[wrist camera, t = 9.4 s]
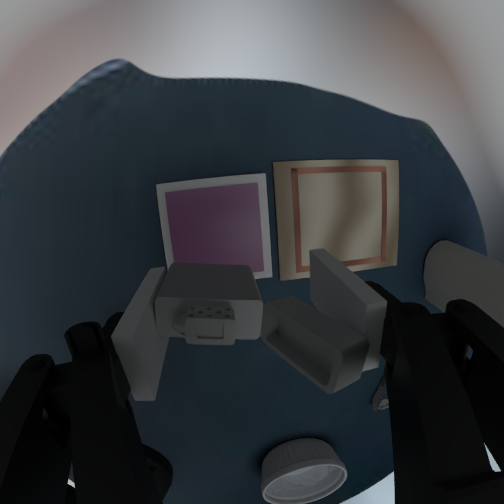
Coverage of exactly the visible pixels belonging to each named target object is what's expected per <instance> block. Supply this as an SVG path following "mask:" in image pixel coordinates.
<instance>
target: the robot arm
mask: <svg viewBox="0 0 504 504" xmlns="http://www.w3.org/2000/svg"><path fill="white" fill-rule="evenodd" d="M309 258H310V299H311V300H312V302H313V303H314V305H315V306H316V308H317V309H318V311H320V312H322V313H323V314H325V315H327V316H329V317H330V318H332V319H334V320H336V321H337V322H339V323H341V324H343V325H345V326H346V327H348V328H350V329H352V330H353V331H355V332H357V333H359V334H361V335H362V336H364V337H366V338H367V339H368V342H369V344H370V346H369V350H368V353H367V357H366V360H365V363H364V366H363V370H362V371H366V370H370V369H373V368H377V367H378V366H379V360H380V354H381V355H382V356H383V358H384V359H385V360H386V364H385V369H384V374H383V379H382V384H381V386H384V384H385V382H386V387H387V395H388V403H389V412H390V421H391V432H392V444H393V460H394V482H395V504H504V328H503V327H502V326H501V325H500V324H499V323H497V322H496V321H495V320H494V319H493V318H491V317H490V316H489V315H488V314H487V313H485V312H484V311H483V310H482V309H480V308H479V307H478V306H477V305H475V304H474V303H472V302H470V301H467V300H465V299H457V300H451V301H449V302H448V303H447V304H446V310H445V313H437V314H430V312H429V310H428V309H427V308H426V307H425V306H423V305H421V304H417V303H411V302H406V303H402V302H401V301H399V300H398V299H397V298H396V297H394V296H393V295H392V294H390V293H389V292H388V291H387V290H385V289H384V288H383V287H382V286H381V285H379V284H377V283H374V282H372V281H365V282H364V281H363V280H362V279H360V278H359V277H358V276H357V275H355V274H354V273H353V272H352V271H351V270H349V269H348V268H347V267H346V266H345V265H343V264H342V263H341V262H340V261H338V260H337V259H336V258H335V257H334V256H332V255H331V254H330V253H329V252H327V251H326V250H325V249H324V248H321V249H313V250H309ZM165 276H166V269H165V267H158V268H150V270H149V272H148V273H147V275H146V277H145V278H144V280H143V282H142V283H141V285H140V287H139V288H138V290H137V292H136V293H135V295H134V297H133V298H132V300H131V302H130V304H129V305H128V307H127V309H126V311H125V312H118V313H115V314H114V315H113V316H111V317H110V318H109V319H108V320H107V322H106V324H105V326H104V327H103V328H101V326H100V324H99V323H97V322H90V321H89V322H83V323H79V324H76V325H74V326H72V327H71V328H69V329H68V330H67V331H66V332H65V334H64V337H65V339H66V342H67V344H68V347H69V350H70V352H71V354H72V362H68V363H64V364H58V365H55V363H54V361H53V359H52V357H51V356H50V355H48V354H39V355H38V354H37V355H34V356H31V357H30V358H29V359H28V360H26V361H25V362H24V363H23V364H22V366H21V368H20V369H19V371H18V372H17V374H16V376H15V377H14V379H13V381H12V383H11V384H10V386H9V388H8V389H7V391H6V393H5V395H4V397H3V398H2V400H1V402H0V504H163V502H162V501H163V499H164V497H165V495H166V493H167V492H168V490H169V488H170V486H171V484H172V477H173V469H172V466H171V464H170V463H169V462H168V461H167V460H166V459H165V458H164V457H163V456H162V455H160V454H159V453H157V452H156V451H154V450H152V449H150V448H148V447H146V446H144V445H142V442H141V439H140V436H139V432H138V429H137V425H136V422H135V418H134V414H133V410H132V407H131V404H130V402H129V400H128V395H129V392H130V390H131V392H132V395H133V397H134V400H135V401H155V399H156V394H157V389H158V384H159V380H160V375H161V371H162V366H163V362H164V357H165V353H166V349H167V345H168V340H169V337H165V336H160V335H159V334H158V331H157V327H156V315H155V299H156V296H157V294H158V292H159V289H160V287H161V285H162V283H163V280H164V278H165ZM469 346H470V347H471V348H472V350H473V354H472V357H471V359H468V357H467V356H466V355H467V351H468V348H469ZM42 412H44V413H45V417H44V420H43V417H42ZM484 443H485V445H486V446H487V448H488V449H489V451H490V453H491V454H492V456H493V458H494V459H495V461H496V463H497V464H498V466H499V468H500V469H501V471H500V472H495V471H494V470H492V468H491V465H490V462H489V458H488V455H487V451H486V448H485V445H484ZM71 462H73V473H74V483H75V488H74V487H72V486H71V485H69V484H67V483H68V477H69V472H70V467H71Z"/></svg>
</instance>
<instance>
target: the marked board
mask: <svg viewBox="0 0 504 504" xmlns="http://www.w3.org/2000/svg"><path fill="white" fill-rule="evenodd" d="M272 164H273V178H274V192H275V207H276V223H277V240H278V258H279V278H280V281H284V280H292V279H300V278H308V277H310V258H309V250H313V249H321V248H324V249H325V250H326V251H327V252H329V253H330V254H331V255H332V256H334V257H335V258H336V259H337V260H338V261H340V262H341V263H342V264H343V265H345V266H346V267H347V268H348V269H349V270H351V271H352V272H353V271H360V270H367V269H374V268H380V267H387V266H394V265H397V251H398V228H399V171H398V160H306V161H284V162H272Z"/></svg>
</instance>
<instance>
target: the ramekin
mask: <svg viewBox="0 0 504 504" xmlns="http://www.w3.org/2000/svg"><path fill="white" fill-rule="evenodd" d="M346 477H347V471H346V468H345V465H344V464H343V463H342V462H341V461H340V460H339V458H338V456H337V455H336V453H335V452H334V450H333V449H332V447H331V446H330V445H329V444H328V443H326V442H324V441H322V440H319V439H315V438H300V439H295V440H291V441H288V442H285V443H283V444H281V445H279V446H277V447H275V448H274V449H273V450H271V451H270V452H269V453H268V455H267V456H266V457H265V459H264V461H263V464H262V486H261V491H262V496H263V498H264V499H265V500H266V501H268V502H270V503H272V504H304V503H309V502H312V501H315V500H318V499H321V498H323V497H325V496H327V495H329V494H331V493H332V492H334V491H335V490H337V489H338V488H339V487H340V486H341V485H342V484H343V483H344V481H345V480H346Z"/></svg>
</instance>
